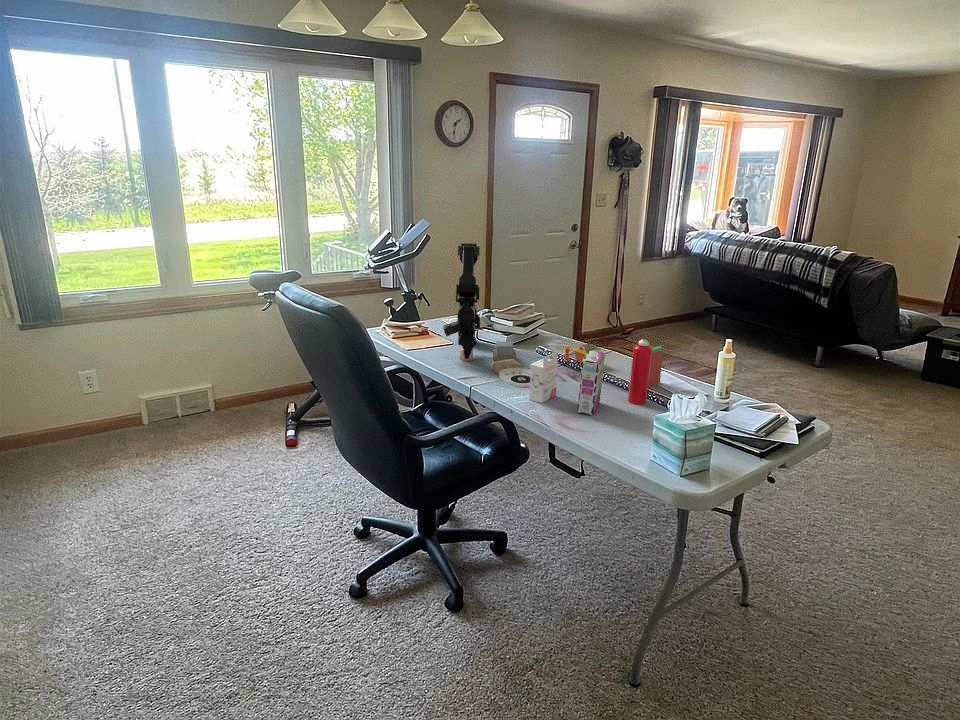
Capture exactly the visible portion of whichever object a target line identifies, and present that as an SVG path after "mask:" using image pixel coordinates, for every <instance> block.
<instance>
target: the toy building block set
mask: <svg viewBox="0 0 960 720" xmlns="http://www.w3.org/2000/svg"><path fill="white" fill-rule="evenodd" d="M649 346H650V347H651V348H652V357H651V365H650V374H649V382H648V388H650V387H652V386H657V385H659V384H661V372H662V362H663V360H662V359H663V349H664V346H663V347H662V346H660V345H657V346H654V347H652V346H651V345H649ZM596 347H597V345H595V344H592V343H586V344H585V343H584V344H582V345H581V346H579V347H578V348H575V349H572V352H574V353H575V362H576V361H579V362H580V363H582V360H583V359H584V358H585V356H586V355H587V354H588V352H589V351H594V348H596ZM596 351H597V352H599V351H598V350H596ZM564 352H565V354H564V355H565V357H564V359H565V360H569V359H570V358H569V356H570V352H571V349H570V345H568V344H566V346H565V351H564ZM579 362H578V363H579ZM580 363H579V364H580Z"/></svg>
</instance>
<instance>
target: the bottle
mask: <svg viewBox="0 0 960 720" xmlns="http://www.w3.org/2000/svg"><path fill="white" fill-rule="evenodd" d="M650 346H651V345H650V342H649V341H648V340H647V339H646V338H641V340H639V341H638V344H636V345H635V346H634V347H633V350H632V360H631V368H630V369H631V370H630V379H629V387H628V395H627V402H628V403H630V404H632V405H637V406H639V405H640V406H643V405H646V403H647V398H648V389H649V387H648V382H649V374H650V365H651V357H652V348H653V347H652V346H651V347H652V348H651V347H650Z"/></svg>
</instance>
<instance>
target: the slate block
mask: <svg viewBox="0 0 960 720" xmlns="http://www.w3.org/2000/svg"><path fill="white" fill-rule="evenodd" d="M494 350H495V351H496V355H497V356H513V350H514V344H513V341H495V349H494Z"/></svg>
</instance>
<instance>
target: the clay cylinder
mask: <svg viewBox="0 0 960 720" xmlns="http://www.w3.org/2000/svg"><path fill="white" fill-rule="evenodd" d="M459 360H460V361H462V362H471V361H473V360H474V348H473V349H472V351H471V353H470V356H469V358H468V359H465V356H464V351H463V347H460V348H459Z"/></svg>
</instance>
